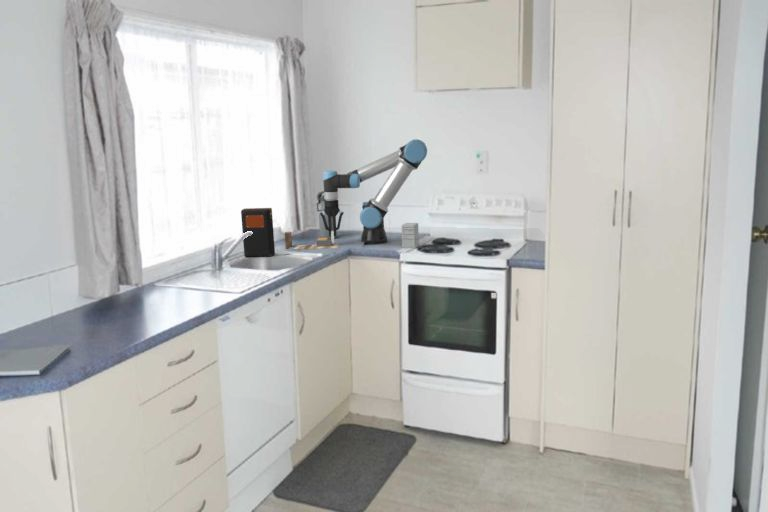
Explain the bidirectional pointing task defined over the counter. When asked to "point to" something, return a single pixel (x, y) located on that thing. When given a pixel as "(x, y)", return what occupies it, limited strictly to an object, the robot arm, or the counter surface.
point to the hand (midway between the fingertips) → (333, 242)
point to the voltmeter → (258, 232)
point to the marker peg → (288, 240)
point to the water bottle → (323, 231)
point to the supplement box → (410, 235)
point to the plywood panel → (316, 246)
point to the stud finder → (324, 242)
